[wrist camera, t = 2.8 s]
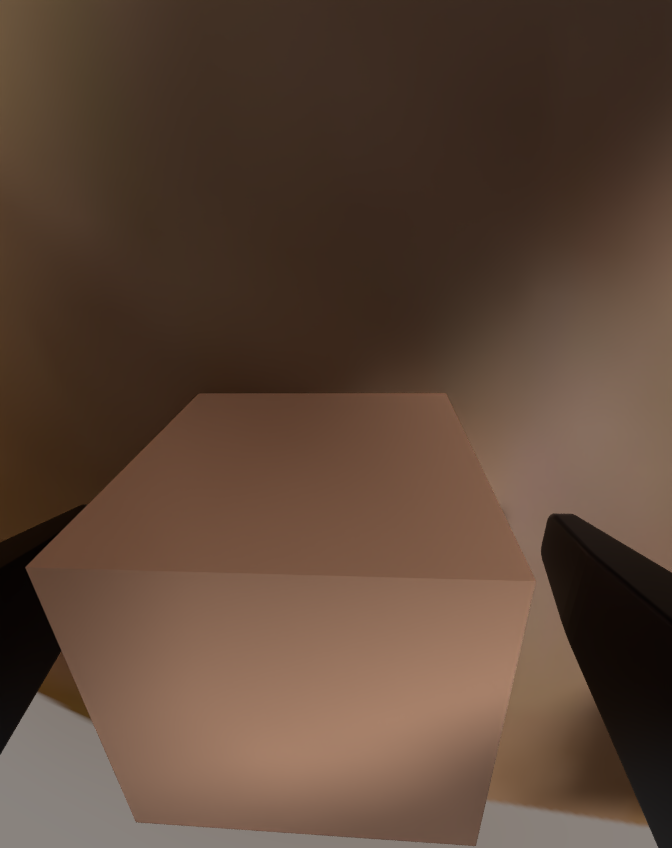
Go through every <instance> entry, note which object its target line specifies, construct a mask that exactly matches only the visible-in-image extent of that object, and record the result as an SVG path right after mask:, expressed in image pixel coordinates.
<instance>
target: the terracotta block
mask: <svg viewBox="0 0 672 848" xmlns="http://www.w3.org/2000/svg"><path fill="white" fill-rule="evenodd" d="M25 568H26V570H27V572H28V575H29V577H30V579H31V582H32V584H33V586H34V589H35V591H36V593H37V595H38V598H39V600H40V602H41V605H42V607H43V609H44V612H45V614H46V616H47V618H48V621H49V623H50V625H51V628H52V630H53V632H54V635H55V637H56V639H57V641H58V644H59V646H60V648H61V651H62V653H63V655H64V658H65V660H66V662H67V665H68V667H69V669H70V671H71V674H72V676H73V678H74V681H75V683H76V685H77V688H78V690H79V692H80V694H81V697H82V699H83V701H84V704H85V706H86V708H87V711H88V713H89V715H90V717H91V720H92V722H93V724H94V727H95V729H96V731H97V733H98V736H99V738H100V740H101V743H102V745H103V747H104V750H105V752H106V754H107V757H108V759H109V761H110V763H111V766H112V768H113V770H114V773H115V775H116V777H117V780H118V782H119V784H120V786H121V789H122V791H123V793H124V795H125V798H126V800H127V803H128V805H129V807H130V809H131V812H132V814H133V816H134V819H135V821H136V822H138V823H154V824H167V825H181V826H196V827H210V828H225V829H239V830H240V829H241V830H254V831H267V832H282V833H296V834H311V835H326V836H339V837H355V838H369V839H382V840H397V841H411V842H426V843H440V844H455V845H468V846H476V843H477V839H478V834H479V830H480V825H481V821H482V817H483V812H484V808H485V804H486V799H487V795H488V790H489V786H490V782H491V777H492V773H493V769H494V764H495V760H496V755H497V751H498V747H499V742H500V738H501V733H502V729H503V725H504V720H505V716H506V711H507V707H508V703H509V698H510V694H511V689H512V685H513V681H514V676H515V672H516V667H517V663H518V659H519V654H520V650H521V645H522V641H523V637H524V632H525V628H526V623H527V619H528V615H529V610H530V606H531V601H532V597H533V593H534V588H535V584H536V580H535V578H534V576H533V574H532V572H531V570H530V568H529V566H528V563H527V561H526V559H525V557H524V555H523V553H522V551H521V549H520V547H519V545H518V543H517V540H516V538H515V536H514V534H513V532H512V530H511V528H510V526H509V524H508V522H507V520H506V517H505V515H504V513H503V511H502V509H501V507H500V505H499V503H498V501H497V499H496V497H495V495H494V492H493V490H492V488H491V486H490V484H489V482H488V480H487V478H486V476H485V474H484V472H483V469H482V467H481V465H480V463H479V461H478V459H477V457H476V455H475V453H474V451H473V449H472V446H471V444H470V442H469V440H468V438H467V436H466V434H465V432H464V430H463V428H462V426H461V423H460V421H459V419H458V417H457V415H456V413H455V411H454V409H453V407H452V405H451V403H450V400H449V398H448V396H447V394H446V393H199V394H198V395H197V396H196V397H195V398H194V399H193V400H192V401H191V402H190V403H189V404H188V405H187V406H186V407H185V408H184V409H183V410H182V411H181V412H180V413H179V414H178V415H177V416H176V417H175V418H174V419H173V420H172V421H171V422H170V423H169V424H168V425H167V426H166V427H165V428H164V429H163V430H162V431H161V432H160V433H159V434H158V435H157V436H156V437H155V438H154V439H153V440H152V441H151V442H150V443H149V444H148V445H147V446H146V447H145V448H144V449H143V450H142V451H141V452H140V453H139V454H138V455H137V456H136V457H135V458H134V459H133V460H132V461H131V462H130V463H129V464H128V465H127V466H126V467H125V468H124V469H123V470H122V471H121V472H120V473H119V474H118V475H117V476H116V477H115V478H114V479H113V480H112V481H111V482H110V483H109V484H108V485H107V486H106V487H105V488H104V489H103V490H102V491H101V492H100V493H99V494H98V495H97V496H96V497H95V498H94V499H93V500H92V501H91V502H90V503H89V504H88V505H87V506H86V507H85V508H84V509H83V510H82V511H81V512H80V513H79V514H78V515H77V516H76V517H75V518H74V519H73V520H72V521H71V522H70V523H69V524H68V525H67V526H66V527H65V528H64V529H63V530H62V531H61V532H60V533H59V534H58V535H57V536H56V537H55V538H54V539H53V540H52V541H51V542H50V543H49V544H48V545H47V546H46V547H45V548H44V549H43V550H42V551H41V552H40V553H39V554H38V555H37V556H36V557H35V558H34V559H33V560H32V561H31V562H30V563H29V564H28V565H27V566H26V567H25Z"/></svg>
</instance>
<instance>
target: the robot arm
mask: <svg viewBox="0 0 672 848" xmlns="http://www.w3.org/2000/svg"><path fill="white" fill-rule="evenodd" d="M87 505H88V504H85V505H81V506H78V507H76V508H74V509H72V510H70V511H67V512H65V513H63V514H61V515H59V516H57V517H54V518H52V519H50V520H48V521H46V522H44V523H41V524H39V525H37V526H35V527H33V528H31V529H28V530H26V531H24V532H22V533H20V534H18V535H16V536H13V537H11V538H9V539H7V540H5V541H3V542H0V754H1V753H2V751H3V749H4V747H5V746H6V744H7V742H8V740H9V739H10V737H11V735H12V734H13V732H14V730H15V729H16V727H17V725H18V724H19V722H20V720H21V718H22V717H23V715H24V713H25V712H26V710H27V708H28V707H29V705H30V703H31V701H32V700H33V698H34V696H35V695H36V693H37V691H38V690H39V688H40V686H41V684H42V683H43V681H44V679H45V678H46V676H47V674H48V673H49V671H50V669H51V667H52V666H53V664H54V662H55V661H56V659H57V657H58V655H59V654H60V652H61V648H60V646H59V644H58V641H57V639H56V637H55V635H54V632H53V630H52V628H51V625H50V623H49V621H48V618H47V616H46V614H45V612H44V609H43V607H42V605H41V602H40V600H39V598H38V595H37V593H36V591H35V589H34V586H33V584H32V582H31V579H30V577H29V575H28V572H27V570H26V568H25V567H26V566H27V565H28V564H29V563H30V562H31V561H32V560H33V559H34V558H35V557H36V556H37V555H38V554H39V553H40V552H41V551H42V550H43V549H44V548H45V547H46V546H47V545H48V544H49V543H50V542H51V541H52V540H53V539H54V538H55V537H56V536H57V535H58V534H59V533H60V532H61V531H62V530H63V529H64V528H65V527H66V526H67V525H68V524H69V523H70V522H71V521H72V520H73V519H74V518H75V517H76V516H77V515H78V514H79V513H80V512H81V511H82V510H83V509H84V508H85V507H86V506H87ZM541 555H542V560H543V564H544V567H545V570H546V573H547V576H548V580H549V583H550V586H551V589H552V592H553V596H554V599H555V602H556V605H557V609H558V612H559V615H560V618H561V621H562V624H563V627H564V630H565V633H566V636H567V638H568V641H569V643H570V645H571V648H572V650H573V652H574V655H575V657H576V659H577V662H578V664H579V666H580V669H581V671H582V673H583V675H584V678H585V680H586V682H587V685H588V687H589V689H590V692H591V694H592V696H593V698H594V701H595V703H596V705H597V708H598V710H599V712H600V715H601V717H602V719H603V721H604V724H605V726H606V728H607V731H608V733H609V735H610V738H611V740H612V742H613V744H614V747H615V749H616V751H617V754H618V756H619V758H620V761H621V763H622V765H623V767H624V770H625V772H626V774H627V777H628V779H629V781H630V784H631V786H632V788H633V790H634V793H635V795H636V797H637V800H638V802H639V804H640V807H641V809H642V811H643V813H644V816H645V818H646V820H647V823H648V825H649V827H650V830H651V832H652V834H653V836H654V839H655V841H656V843H657V846H658V848H672V573H671V572H670V571H668V570H666V569H665V568H663V567H661V566H660V565H658V564H656V563H655V562H653V561H651V560H650V559H648V558H646V557H645V556H643V555H641V554H640V553H638V552H636V551H634V550H633V549H631V548H629V547H628V546H626V545H624V544H623V543H621V542H619V541H618V540H616V539H614V538H613V537H611V536H609V535H608V534H606V533H604V532H603V531H601V530H599V529H598V528H596V527H594V526H593V525H591V524H589V523H587V522H586V521H584V520H582V519H581V518H579V517H577V516H576V515H573V514H552V515H550V516H549V518H548V520H547V524H546V528H545V533H544V537H543V542H542V546H541Z"/></svg>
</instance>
